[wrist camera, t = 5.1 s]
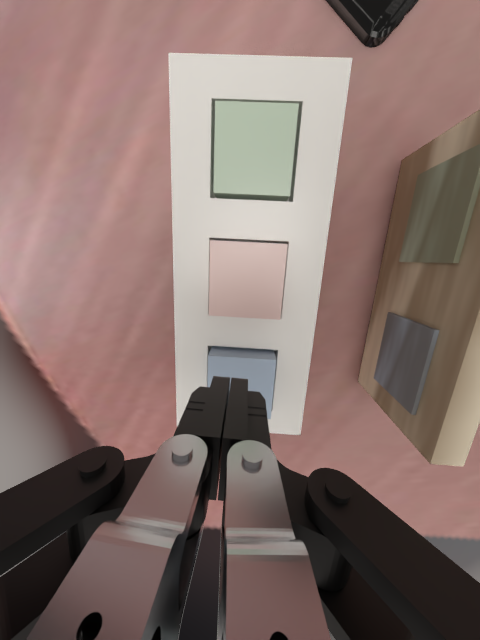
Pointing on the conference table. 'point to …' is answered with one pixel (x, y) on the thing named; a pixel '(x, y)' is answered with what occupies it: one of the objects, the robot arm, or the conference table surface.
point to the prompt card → (431, 300)
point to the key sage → (254, 150)
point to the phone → (372, 17)
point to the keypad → (252, 213)
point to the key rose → (246, 279)
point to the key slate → (245, 368)
